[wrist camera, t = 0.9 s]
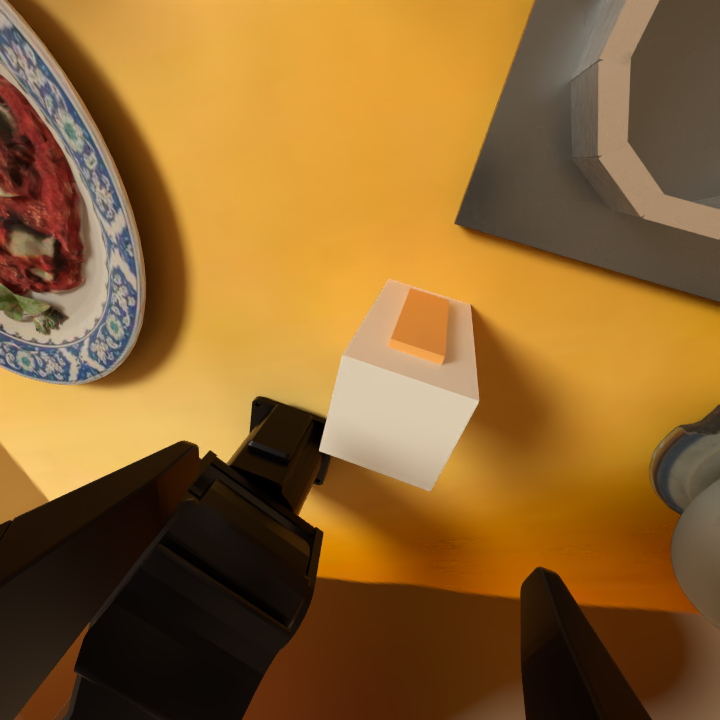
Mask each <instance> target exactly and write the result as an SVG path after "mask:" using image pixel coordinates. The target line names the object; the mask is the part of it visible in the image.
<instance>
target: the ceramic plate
mask: <svg viewBox="0 0 720 720" xmlns="http://www.w3.org/2000/svg"><path fill="white" fill-rule="evenodd" d="M145 302H146V277H145V267H144V258H143V253H142V247H141V241H140V237H139V233H138V229H137V225H136V221H135V217H134V214H133V211H132V208H131V205H130V202H129V199H128V196H127V193H126V190H125V187H124V184H123V182H122V180H121V177H120V175H119V172H118V170H117V167H116V165H115V162H114V160H113V158H112V156H111V154H110V152H109V150H108V148H107V145H106V143H105V141H104V139H103V137H102V135H101V133H100V131H99V129H98V127H97V126H96V124H95V122H94V120H93V118H92V117H91V115H90V113H89V111H88V109H87V108H86V106H85V104H84V102H83V101H82V99H81V98H80V96H79V94H78V93H77V91H76V90H75V88H74V86H73V85H72V83H71V82H70V80H69V79H68V77H67V75H66V74H65V72H64V71H63V70H62V68H61V67H60V65H59V64H58V63H57V61H56V60H55V58H54V57H53V56H52V54H51V53H50V51H49V50H48V49H47V47H46V46H45V44H44V43H43V42H42V41H41V39H40V38H39V37H38V36H37V35H36V33H35V32H34V31H33V30H32V28H31V27H30V26H29V25H28V23H27V22H26V21H25V20H24V18H23V17H22V16H21V15H20V14H19V13H18V12H17V10H16V9H15V8H14V7H13V6H12V5H11V4H10V3H9V2H8V1H7V0H0V367H2V368H4V369H6V370H8V371H11V372H13V373H15V374H18V375H20V376H23V377H25V378H29V379H33V380H37V381H42V382H46V383H52V384H60V385H77V384H84V383H88V382H92V381H96V380H98V379H100V378H102V377H104V376H106V375H108V374H110V373H111V372H113V371H114V370H115V369H116V368H117V367H119V366H120V365H121V364H122V363H123V362H124V361H125V359H126V358H127V357H128V356H129V354H130V353H131V351H132V349H133V347H134V346H135V344H136V342H137V339H138V336H139V333H140V330H141V327H142V324H143V318H144V310H145Z"/></svg>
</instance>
